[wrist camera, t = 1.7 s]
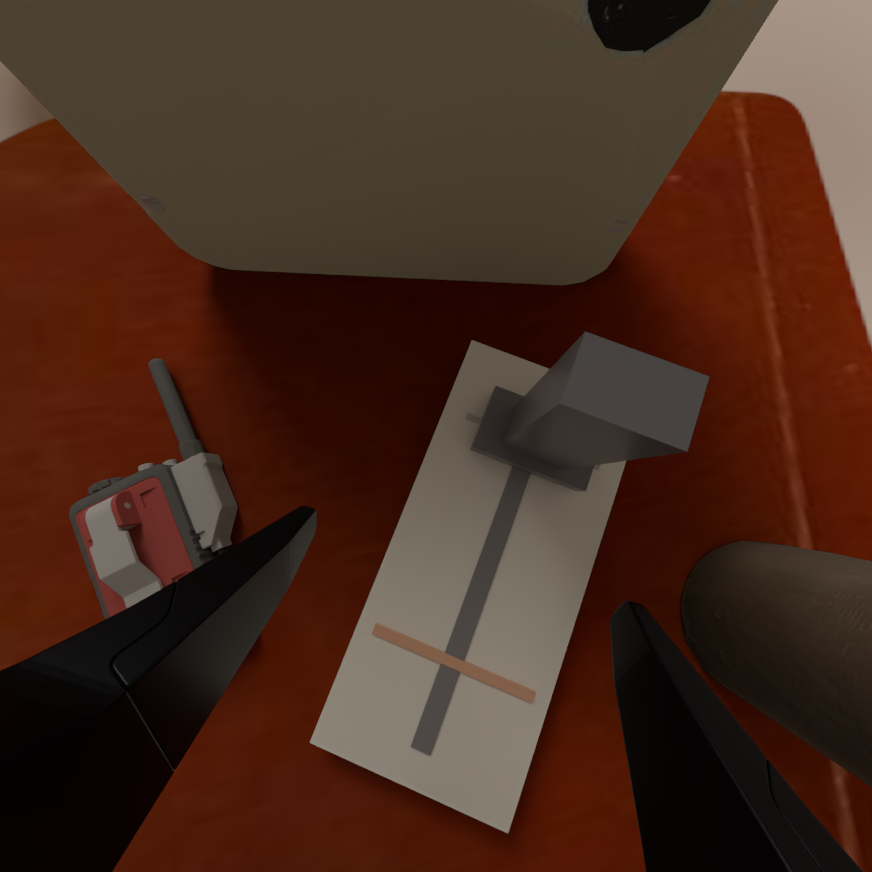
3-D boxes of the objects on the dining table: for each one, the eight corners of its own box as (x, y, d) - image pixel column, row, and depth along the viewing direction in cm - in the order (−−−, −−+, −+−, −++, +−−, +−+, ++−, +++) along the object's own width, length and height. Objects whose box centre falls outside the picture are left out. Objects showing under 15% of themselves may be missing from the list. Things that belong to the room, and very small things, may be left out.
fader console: (501, 801, 21) (508, 836, 19) (321, 719, 22) (308, 744, 20) (627, 410, 25) (645, 403, 22) (469, 351, 25) (472, 338, 23)
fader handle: (575, 491, 22) (730, 494, 10) (469, 449, 22) (505, 408, 11) (595, 431, 22) (763, 372, 11) (492, 392, 22) (547, 294, 11)
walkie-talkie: (291, 616, 23) (183, 360, 26) (256, 646, 19) (132, 333, 21) (166, 682, 23) (70, 412, 25) (101, 728, 18) (-7, 396, 21)
